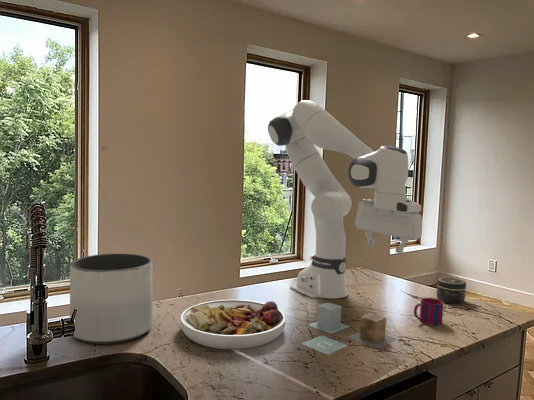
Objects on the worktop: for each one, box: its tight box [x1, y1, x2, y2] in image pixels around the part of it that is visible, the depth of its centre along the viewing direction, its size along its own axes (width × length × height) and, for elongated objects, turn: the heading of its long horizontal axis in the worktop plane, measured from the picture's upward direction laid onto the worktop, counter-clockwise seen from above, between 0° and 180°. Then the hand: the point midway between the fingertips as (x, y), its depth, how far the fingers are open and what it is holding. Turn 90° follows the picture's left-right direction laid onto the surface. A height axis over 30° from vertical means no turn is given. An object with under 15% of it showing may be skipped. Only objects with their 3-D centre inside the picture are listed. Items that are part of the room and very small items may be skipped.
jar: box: [436, 276, 467, 305], centre depth 166 cm, size 10×10×8 cm
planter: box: [69, 253, 154, 345], centre depth 127 cm, size 22×22×20 cm
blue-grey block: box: [316, 302, 342, 330], centre depth 135 cm, size 5×5×6 cm
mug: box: [413, 297, 444, 327], centre depth 143 cm, size 7×10×7 cm
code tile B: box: [308, 321, 351, 334], centre depth 135 cm, size 9×9×1 cm
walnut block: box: [359, 312, 387, 343], centre depth 127 cm, size 5×5×6 cm
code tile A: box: [300, 335, 349, 356], centre depth 121 cm, size 9×9×1 cm
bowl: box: [179, 299, 286, 351], centre depth 130 cm, size 30×30×8 cm
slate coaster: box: [347, 331, 398, 350], centre depth 127 cm, size 10×10×1 cm
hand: (384, 249), depth 132 cm, fingers open, 8 cm apart
